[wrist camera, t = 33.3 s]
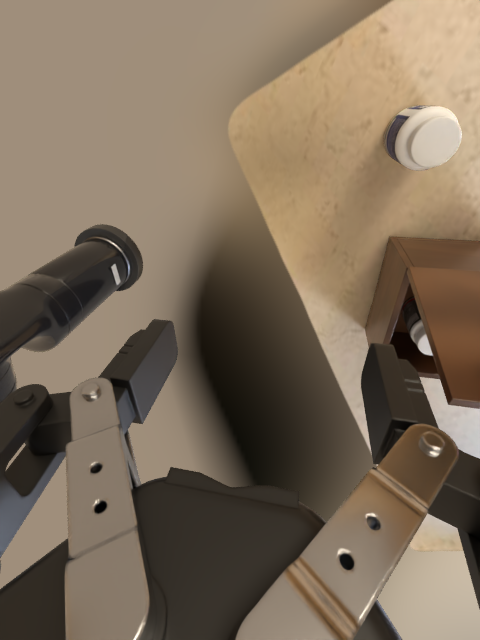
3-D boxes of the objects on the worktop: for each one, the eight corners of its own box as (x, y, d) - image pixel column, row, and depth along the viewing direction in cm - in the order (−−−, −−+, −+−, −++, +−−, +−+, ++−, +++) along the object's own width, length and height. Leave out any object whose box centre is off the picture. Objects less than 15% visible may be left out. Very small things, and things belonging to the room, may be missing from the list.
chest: (449, 338, 49) (475, 383, 41) (365, 329, 51) (374, 371, 43) (494, 241, 40) (538, 276, 32) (389, 236, 42) (406, 267, 34)
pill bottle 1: (394, 170, 38) (415, 188, 30) (375, 128, 36) (391, 136, 28) (443, 140, 35) (480, 151, 27) (425, 93, 33) (459, 90, 25)
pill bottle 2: (443, 299, 45) (466, 335, 38) (425, 325, 47) (443, 362, 41) (411, 290, 45) (428, 323, 38) (394, 316, 48) (407, 351, 41)
